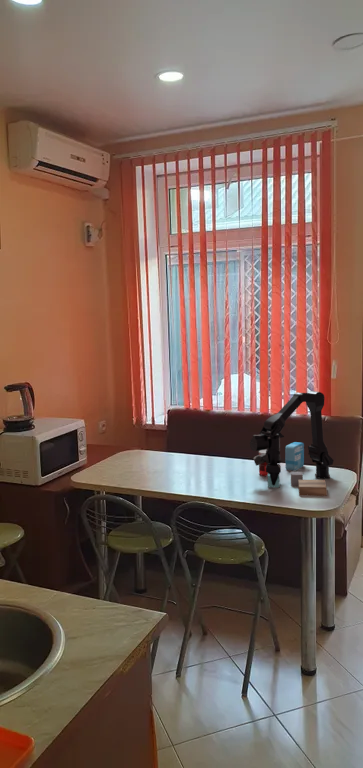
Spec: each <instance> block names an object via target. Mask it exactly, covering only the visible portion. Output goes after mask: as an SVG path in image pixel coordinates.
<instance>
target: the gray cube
mask: <svg viewBox="0 0 363 768" xmlns="http://www.w3.org/2000/svg"><path fill="white" fill-rule="evenodd" d="M303 477H304V476H303V471H290V486H291V487H292V486H293V487H298V480H304V478H303Z"/></svg>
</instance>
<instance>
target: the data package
mask: <svg viewBox="0 0 363 768" xmlns="http://www.w3.org/2000/svg"><path fill="white" fill-rule="evenodd" d="M304 447H305V443H304V442H297V441H294V442H291V443H289V444H287V445H285V451H284V452H285V454H284V455H285V459H284V460H285V470H286V471H291V472H297V470H300V469H301V468H303V467H304V465H305V448H304Z"/></svg>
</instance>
